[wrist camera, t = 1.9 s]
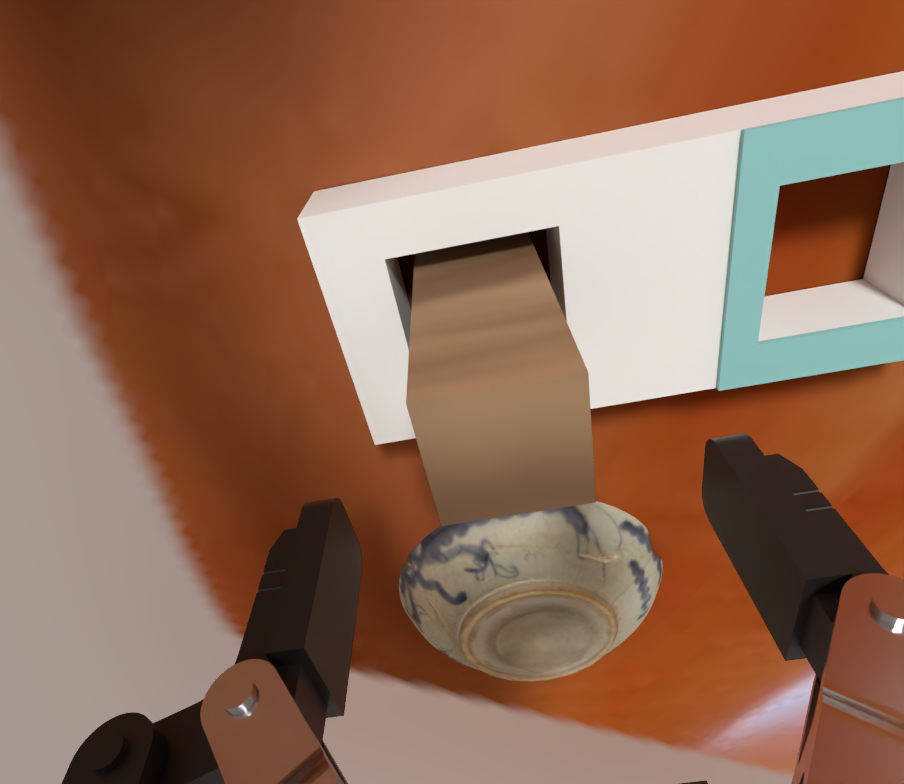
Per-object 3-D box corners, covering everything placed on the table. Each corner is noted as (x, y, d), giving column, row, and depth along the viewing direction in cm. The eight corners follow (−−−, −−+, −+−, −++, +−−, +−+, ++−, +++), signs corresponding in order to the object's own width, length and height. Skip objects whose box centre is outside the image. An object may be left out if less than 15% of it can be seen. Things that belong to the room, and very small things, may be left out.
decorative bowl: (716, 543, 31) (487, 447, 27) (747, 602, 28) (495, 506, 24) (557, 672, 39) (355, 615, 34) (568, 729, 36) (349, 676, 31)
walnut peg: (415, 243, 21) (405, 403, 12) (524, 222, 20) (588, 372, 12) (436, 338, 23) (441, 526, 15) (535, 320, 23) (595, 502, 14)
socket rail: (313, 191, 19) (295, 221, 17) (989, 53, 18) (1086, 62, 15) (380, 400, 25) (374, 448, 22) (911, 308, 23) (974, 348, 20)
